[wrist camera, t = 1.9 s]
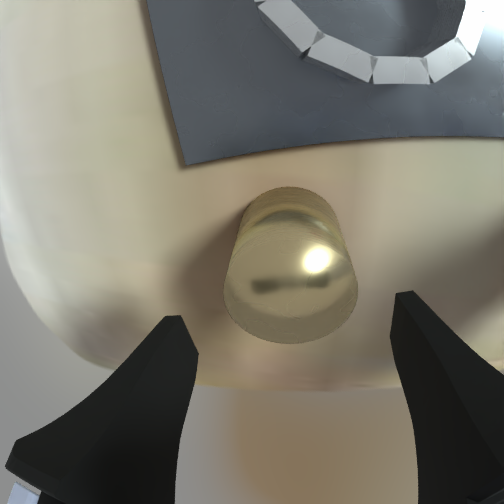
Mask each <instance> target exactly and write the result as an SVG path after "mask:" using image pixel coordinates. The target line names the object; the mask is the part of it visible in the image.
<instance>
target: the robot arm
mask: <svg viewBox="0 0 504 504" xmlns="http://www.w3.org/2000/svg"><path fill="white" fill-rule="evenodd" d="M390 340H391V345H392V350H393V355H394V360H395V364H396V367H397V371H398V374H399V377H400V380H401V384H402V387H403V390H404V393H405V397H406V400H407V404H408V407H409V411H410V415H411V419H412V423H413V429H414V436H415V444H416V454H417V465H418V504H504V375H503V374H502V373H500V372H499V371H498V370H496V369H495V368H494V367H493V366H491V365H490V364H489V363H488V362H486V361H485V360H484V359H483V358H482V357H480V356H479V355H478V354H477V353H476V352H475V351H473V350H472V349H471V348H470V347H469V346H468V345H467V344H466V343H465V342H464V341H463V340H462V339H460V338H459V337H458V336H457V335H456V334H455V333H454V332H453V331H452V330H451V329H450V328H449V327H448V326H447V325H446V324H445V323H444V322H443V321H442V320H441V319H440V318H439V317H438V316H437V315H436V314H435V313H434V312H433V311H432V309H431V308H430V307H429V306H428V305H427V304H426V303H425V302H424V301H423V300H422V299H421V298H420V297H419V296H418V295H417V294H416V293H415V292H414V291H407V292H401V293H396V296H395V304H394V311H393V318H392V325H391V331H390ZM198 355H199V353H198V351H197V349H196V347H195V345H194V343H193V341H192V339H191V336H190V334H189V332H188V330H187V328H186V326H185V323H184V321H183V319H182V317H181V315H177V316H165V317H164V318H163V319H162V320H161V321H160V322H159V323H158V324H157V325H156V327H155V328H154V329H153V330H152V331H151V332H150V333H149V335H148V336H147V337H146V338H145V339H144V340H143V341H142V342H141V344H140V345H139V346H138V347H137V348H136V349H135V350H134V351H133V353H132V354H131V355H130V356H129V357H128V358H127V359H126V360H125V361H124V362H123V363H122V364H121V365H120V366H119V367H118V369H117V370H116V371H115V372H114V373H113V374H112V375H111V376H110V377H109V378H108V379H107V380H106V381H105V382H104V383H103V384H101V385H100V386H99V387H98V388H97V389H96V390H95V391H94V392H92V393H91V394H90V395H89V396H88V397H87V398H85V399H84V400H83V401H82V402H80V403H79V404H78V405H76V406H75V407H73V408H72V409H71V410H69V411H68V412H67V413H65V414H64V415H62V416H61V417H59V418H58V419H56V420H55V421H53V422H52V423H50V424H48V425H46V426H45V427H43V428H41V429H39V430H37V431H35V432H33V433H31V434H29V435H27V436H24V437H22V438H20V439H18V440H16V442H15V444H14V446H13V448H12V451H11V453H10V456H9V458H8V460H7V463H6V465H5V467H6V469H7V470H9V471H10V472H11V473H13V474H15V475H16V476H18V477H19V478H21V479H22V480H24V481H26V482H28V483H29V484H31V485H32V486H34V487H36V488H37V489H39V490H41V494H40V495H38V494H36V493H35V492H33V491H31V490H30V489H28V488H26V487H25V486H23V485H21V484H20V483H18V482H15V483H14V486H13V489H12V491H11V494H10V497H9V500H8V503H7V504H175V481H176V469H177V459H178V451H179V443H180V437H181V433H182V429H183V424H184V421H185V417H186V413H187V410H188V406H189V402H190V398H191V394H192V391H193V387H194V383H195V379H196V372H197V364H198Z"/></svg>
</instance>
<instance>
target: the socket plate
mask: <svg viewBox="0 0 504 504" xmlns="http://www.w3.org/2000/svg"><path fill="white" fill-rule="evenodd" d="M147 5H148V10H149V15H150V20H151V24H152V29H153V34H154V38H155V43H156V47H157V52H158V56H159V60H160V65H161V69H162V73H163V77H164V81H165V86H166V90H167V94H168V98H169V102H170V106H171V110H172V114H173V118H174V122H175V126H176V130H177V133H178V137H179V141H180V145H181V149H182V152H183V156H184V160H185V163H186V165H191V164H195V163H200V162H205V161H210V160H215V159H220V158H225V157H231V156H236V155H242V154H248V153H254V152H260V151H266V150H273V149H280V148H287V147H294V146H302V145H310V144H319V143H328V142H338V141H348V140H360V139H373V138H389V137H411V136H486V137H504V0H147Z"/></svg>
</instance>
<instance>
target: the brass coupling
mask: <svg viewBox="0 0 504 504" xmlns="http://www.w3.org/2000/svg"><path fill="white" fill-rule="evenodd" d="M223 297H224V302H225V306H226V308H227V310H228V312H229V314H230V316H231V317H232V318H233V320H234V321H235V322H236V323H237V324H238V325H239V326H240V327H241V328H243V329H244V330H245V331H247V332H248V333H250V334H252V335H254V336H256V337H258V338H261V339H263V340H266V341H271V342H275V343H284V344H295V343H304V342H309V341H313V340H316V339H319V338H321V337H324V336H326V335H328V334H330V333H331V332H333V331H334V330H336V329H337V328H339V327H340V326H341V325H342V324H343V323H344V322H345V321H346V320H347V319H348V317H349V316H350V314H351V313H352V311H353V309H354V307H355V305H356V301H357V297H358V284H357V279H356V276H355V272H354V269H353V266H352V263H351V260H350V256H349V253H348V250H347V247H346V244H345V241H344V238H343V235H342V232H341V229H340V226H339V223H338V220H337V217H336V215H335V213H334V211H333V209H332V208H331V206H330V205H329V204H328V203H327V202H326V201H325V200H324V199H323V198H322V197H320V196H319V195H317V194H316V193H314V192H312V191H310V190H306V189H303V188H298V187H281V188H276V189H272V190H269V191H267V192H265V193H263V194H261V195H260V196H258V197H257V198H256V199H255V200H253V201H252V202H251V204H250V205H249V206H248V207H247V209H246V210H245V212H244V214H243V216H242V219H241V223H240V226H239V230H238V234H237V237H236V241H235V245H234V249H233V252H232V256H231V260H230V263H229V267H228V271H227V275H226V278H225V282H224V288H223Z"/></svg>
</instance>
